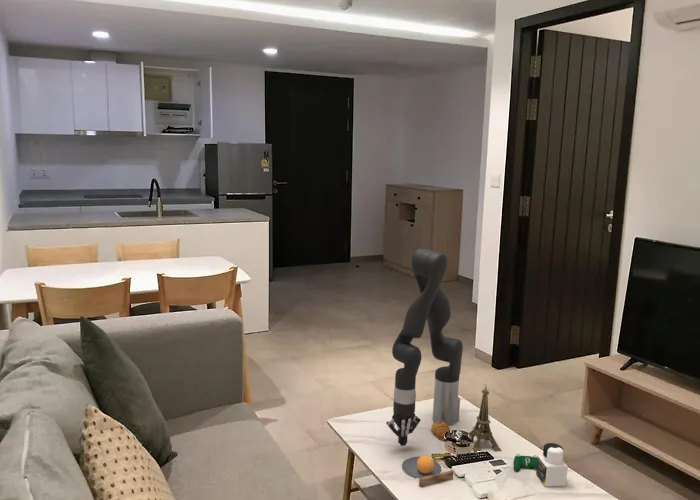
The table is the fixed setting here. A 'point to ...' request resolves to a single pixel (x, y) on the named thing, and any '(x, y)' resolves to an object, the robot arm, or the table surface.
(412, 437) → the table surface
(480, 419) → the eiffel tower
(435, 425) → the pastry
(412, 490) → the table surface
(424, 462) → the ball
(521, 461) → the gaming controller
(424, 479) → the strip
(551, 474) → the medicine bottle
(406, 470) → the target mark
